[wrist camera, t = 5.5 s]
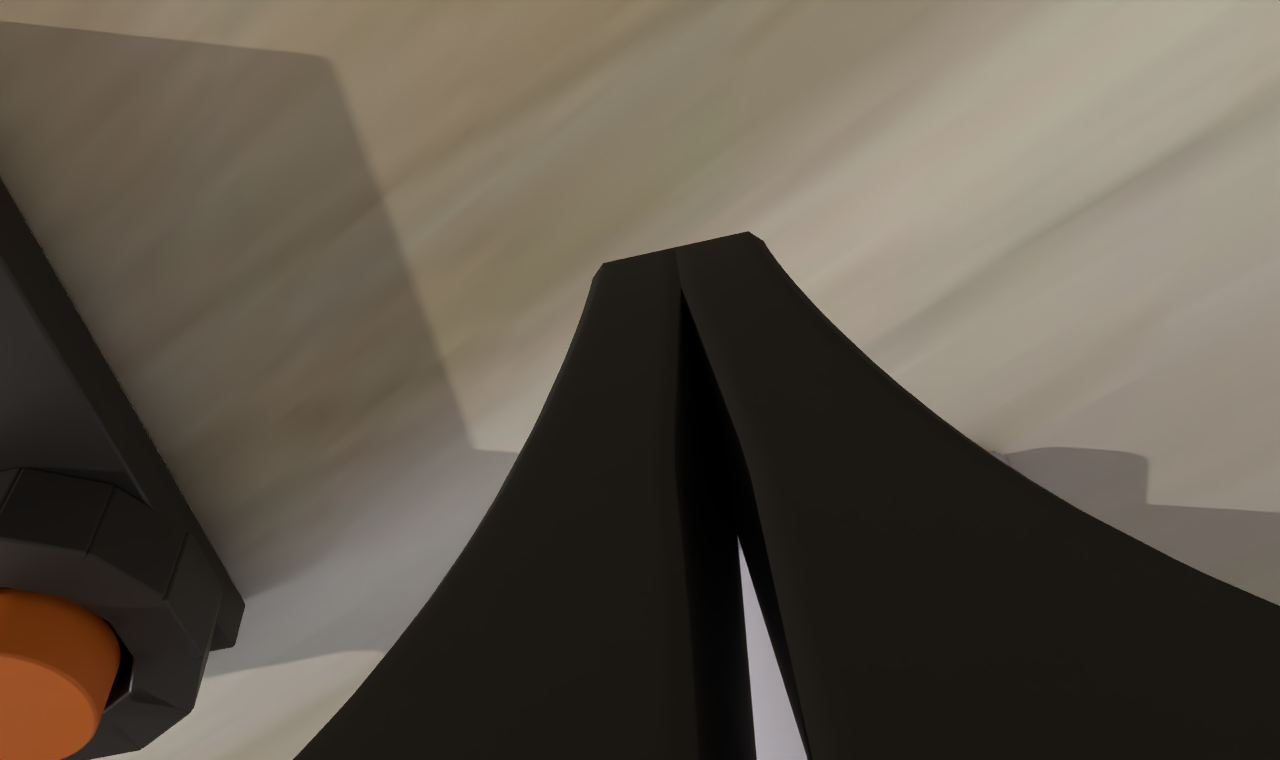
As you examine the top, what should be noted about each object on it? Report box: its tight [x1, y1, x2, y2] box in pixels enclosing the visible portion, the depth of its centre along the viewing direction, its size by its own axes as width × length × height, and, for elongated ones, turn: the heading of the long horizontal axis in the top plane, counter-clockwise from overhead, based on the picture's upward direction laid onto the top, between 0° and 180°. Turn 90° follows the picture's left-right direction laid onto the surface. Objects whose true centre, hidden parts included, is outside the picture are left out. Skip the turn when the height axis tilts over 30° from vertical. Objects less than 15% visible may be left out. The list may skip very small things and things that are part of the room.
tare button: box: [0, 588, 121, 760], centre depth 22 cm, size 3×3×2 cm
